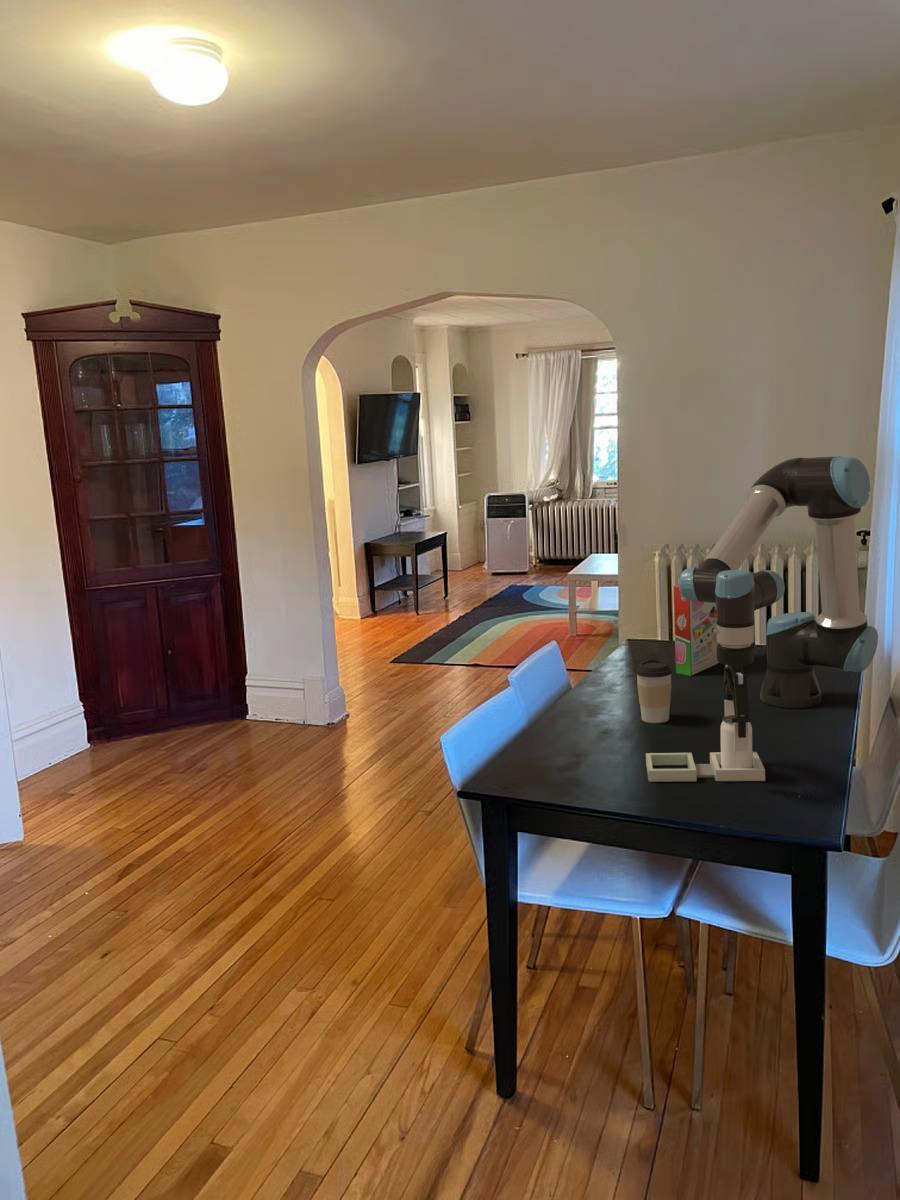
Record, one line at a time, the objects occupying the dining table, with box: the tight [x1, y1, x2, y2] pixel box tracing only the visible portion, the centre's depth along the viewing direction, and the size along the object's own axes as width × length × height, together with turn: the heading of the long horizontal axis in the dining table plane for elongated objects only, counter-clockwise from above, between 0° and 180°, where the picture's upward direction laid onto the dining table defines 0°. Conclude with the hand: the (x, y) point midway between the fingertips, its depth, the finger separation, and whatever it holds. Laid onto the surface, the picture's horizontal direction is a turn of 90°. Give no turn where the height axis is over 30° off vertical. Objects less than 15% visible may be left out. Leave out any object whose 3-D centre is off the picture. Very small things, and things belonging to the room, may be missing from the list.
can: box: [720, 715, 753, 768], centre depth 189 cm, size 6×6×12 cm
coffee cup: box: [635, 658, 673, 724], centre depth 225 cm, size 9×9×15 cm
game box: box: [673, 583, 720, 677], centre depth 266 cm, size 21×6×27 cm, turn 133°
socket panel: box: [645, 751, 766, 783], centre depth 192 cm, size 24×10×2 cm, turn 81°
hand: (736, 739), depth 189 cm, fingers open, 13 cm apart
